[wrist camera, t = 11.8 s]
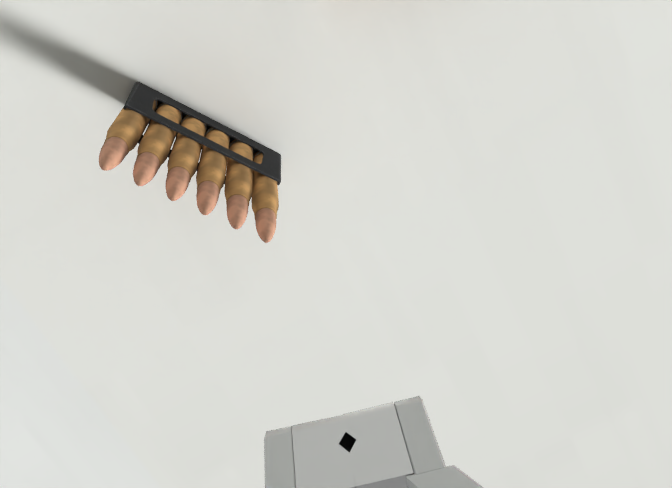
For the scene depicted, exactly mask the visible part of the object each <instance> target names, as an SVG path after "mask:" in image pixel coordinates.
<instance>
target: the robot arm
mask: <svg viewBox="0 0 672 488" xmlns="http://www.w3.org/2000/svg"><path fill="white" fill-rule="evenodd" d="M264 455H265V488H483V487H482V486H481V485H479V484H478V483H477V482H475V481H474V480H473V479H471V478H470V477H469V476H468V475H466V474H465V473H464V472H462V471H461V470H460V469H458V468H457V467H456V466H454V465H452V466H447V467H446V466H445V463H444V460H443V457H442V454H441V452H440V449H439V446H438V443H437V440H436V437H435V435H434V432H433V429H432V426H431V423H430V420H429V417H428V415H427V412H426V409H425V406H424V403H423V400H422V399H421V398H420V397H419V396H417V397H413V398H409V399H405V400H400V401H396V402H394V403H393V402H391V403H387V404H383V405H379V406H375V407H371V408H367V409H363V410H359V411H355V412H351V413H347V414H343V415H341V416H336V417H331V418H326V419H322V420H317V421H312V422H307V423H302V424H298V425H293V426H290V427H285V428H280V429H276V430H271V431H266V434H265V438H264Z"/></svg>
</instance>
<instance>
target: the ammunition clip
mask: <svg viewBox="0 0 672 488" xmlns="http://www.w3.org/2000/svg"><path fill="white" fill-rule="evenodd" d="M148 124H149V126H148V128H147V130H146V132H145V134H144V136H143V135H142V134H143V132H144V130H145V128H146V127H147V125H148ZM175 137H176V140H175V142H174V145H173V148H172V150H170V149H171V146H172V144H173V141H174V138H175ZM137 143H139V147H138V155H137V159H136V162H135V165H134V170H133V177H134V181H135V183H136V184H137V185H138V186H143V185H145V184H147V183H148V182H150V181H151V180H152V178H153V177H154V176H155V174H156V173H157V171H158V169H159V168H160V166H161V164H163V163H164V161H165V160H166V159H167V157H169V160H168V164H167V165H168V173H167V179H166V193H167V196H168V198H169V199H170V200H171V201H175V200H177V199H179V198H180V197H181V196H182V195H183V194H184V193H185V191H186V189H187V187H188V184H189V182H190V180H191V177H192V176H193V175H194V174H195V172H196V171H197V176H196V181H197V205H198V208H199V211H200V212H201V213H202V214H203V215H208V214H209V213H210V212H211V211H212V210H213V209H214V207H215V206H216V203H217V201H218V197H219V194H220V190H221V188H222V187H223V184H225V197H226V203H227V216H228V220H229V222H230V224H231V226H232V227H233V228H234V229H239V228H240V227H241V226H242V225H243V223H244V222H245V219H246V217H247V213H248V206H249V201H250V199H251V197H252V209H253V212H254V214H255V221H256V229H257V232H258V234H259V236H260V238H261V240H262V241H264V242H265V243H268V242H269V241H270V240H271V239H272V237H273V235H274V232H275V229H276V216H277V210H278V207H279V205H278V189H277V185H279V184H280V182H281V155H280V154H279V153H277V152H275V151H273V150H271V149H269V148H267V147H265V146H263V145H261V144H259V143H257V142H255V141H253V140H251V139H249V138H247V137H246V136H244V135H242V134H240V133H238V132H236V131H234V130H232V129H230V128H228V127H226V126H224V125H222V124H220V123H218V122H216V121H214V120H212V119H210V118H209V117H207V116H205V115H203V114H201V113H199V112H197V111H195V110H193V109H191V108H189V107H187V106H185V105H183V104H181V103H179V102H177V101H175V100H173V99H172V98H170V97H168V96H166V95H164V94H162V93H160V92H158V91H156V90H154V89H152V88H150V87H148V86H146V85H144V84H142V83H140V82H136V83H135V85H134V87H133V89H132V91H131V93H130V95H129V97H128V99H127V101H126V104H125V106H124V107H123V109H122V110H121V112H120V113H119V115H118V116H117V118H116V119H115V121H114V122H113V124H112V125H111V127H110V128H109V130H108V131H107V136H106V140H105V142H104V145H103V146H102V148H101V151H100V155H99V165H100V167H101V169H102V170H106V171H107V170H111V169H113V168H114V167H116V166H117V165H119V164H120V163H121V162H122V160H123V159H124V158H125V156H126V155H127V154H128V152H129V151H131V150H132V149H134V147H135V146H136V145H137ZM201 149H202V152H201ZM200 153H201V157H200ZM199 157H200V162H199V163H198V161H199ZM226 167H227V170H226ZM225 174H226V176H225Z"/></svg>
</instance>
